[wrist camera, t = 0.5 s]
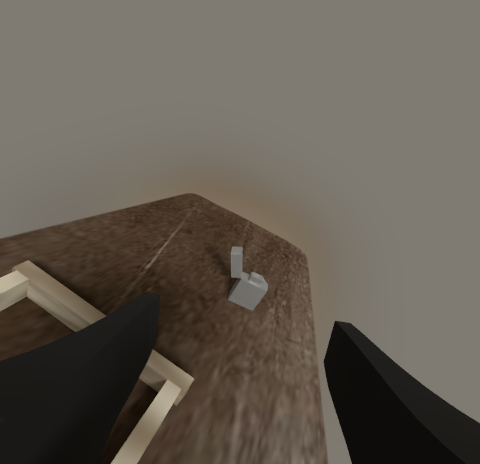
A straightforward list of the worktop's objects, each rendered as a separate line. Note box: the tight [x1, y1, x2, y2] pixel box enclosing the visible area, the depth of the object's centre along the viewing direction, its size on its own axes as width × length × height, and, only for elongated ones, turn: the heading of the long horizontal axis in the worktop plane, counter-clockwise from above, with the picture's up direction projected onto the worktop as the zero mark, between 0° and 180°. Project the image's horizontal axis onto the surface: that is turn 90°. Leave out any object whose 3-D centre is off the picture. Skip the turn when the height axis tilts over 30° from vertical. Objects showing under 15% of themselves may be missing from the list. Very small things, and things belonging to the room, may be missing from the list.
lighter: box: [228, 247, 268, 311], centre depth 39 cm, size 7×2×8 cm, turn 82°
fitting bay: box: [0, 260, 194, 464], centre depth 22 cm, size 12×20×2 cm, turn 68°
